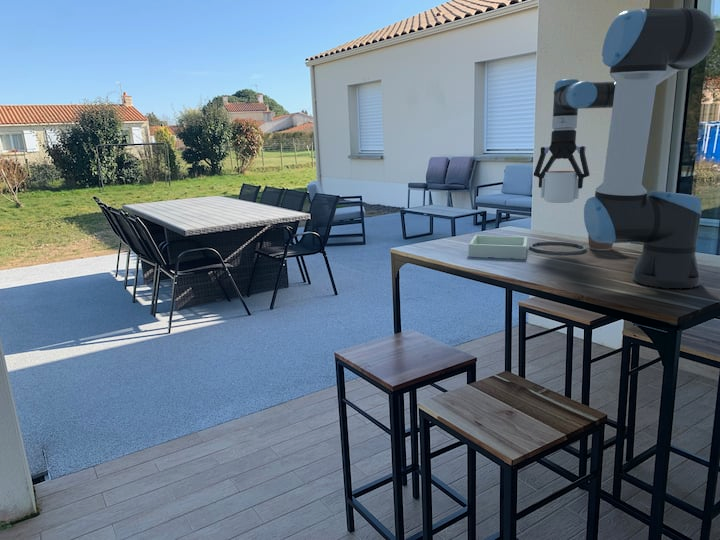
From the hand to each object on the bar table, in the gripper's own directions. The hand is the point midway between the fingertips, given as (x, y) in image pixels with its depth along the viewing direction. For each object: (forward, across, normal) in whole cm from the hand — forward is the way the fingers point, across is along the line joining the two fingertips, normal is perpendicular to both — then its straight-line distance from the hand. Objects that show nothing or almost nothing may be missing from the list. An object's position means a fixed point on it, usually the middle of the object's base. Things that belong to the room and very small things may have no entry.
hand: (559, 198), depth 173 cm
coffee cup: (+18, +13, +8) cm, 23 cm away
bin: (+18, -16, -14) cm, 27 cm away
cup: (+2, 0, 0) cm, 2 cm away
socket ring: (+18, 0, 0) cm, 18 cm away
